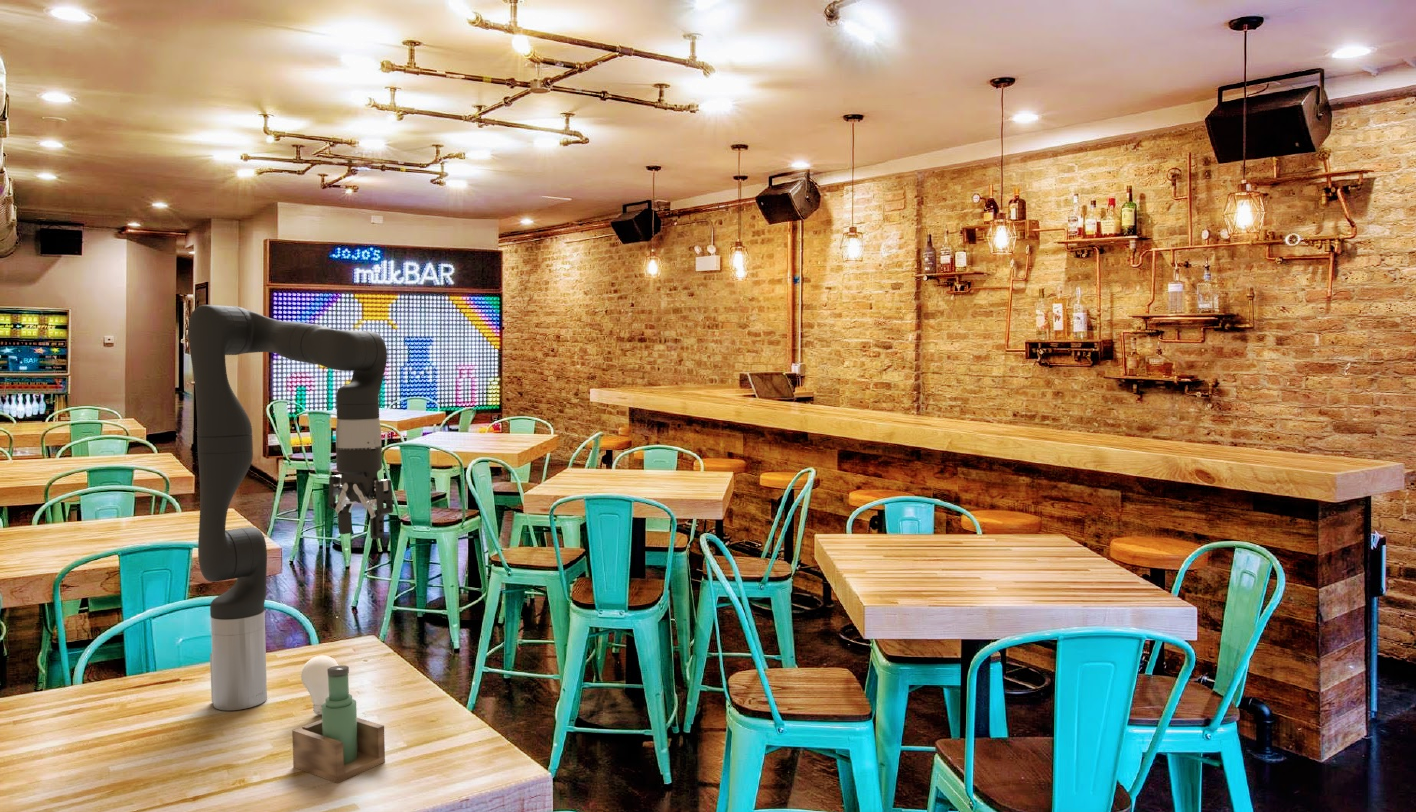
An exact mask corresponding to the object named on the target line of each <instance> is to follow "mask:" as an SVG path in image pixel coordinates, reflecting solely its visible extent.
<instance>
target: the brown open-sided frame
mask: <svg viewBox="0 0 1416 812" xmlns="http://www.w3.org/2000/svg"><path fill="white" fill-rule="evenodd" d="M291 735H292V760H293V763H292V766H293V768H296V769H297V770H301V771H303V772H306V773H309V774H311V775H315V776H317V777H320V778H323V779H324V780H328V781H331V782H334V783H335V784H336V783H337V784H339V783H341V782H343V781H346V780H347V779H349V778H353V777H354V776H356V775H359V774H361V773H364V772H365V771H368V770H370V769H372V768H374V767H376V766H379V765H381V764H384V763H385V762H386V754H385V753H386V752H385V750H386V747H385V746H386V745H385V725H383V724H379V723H376V722H374V721H373V722H372V721H370V720H366V719H363V718H360V717H357V749H358V758H357V759H356V760H355V761H353V762H351V763H349V764H345V765H344V762H343V742H341V741H338V740H335V739H331V738H328V737H325V736H322V719H318V720H316V721H315V722H311V723H309V724H305V725H303V726H301V727H298V728H295V729H293V730H292V734H291Z"/></svg>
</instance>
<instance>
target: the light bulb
mask: <svg viewBox="0 0 1416 812" xmlns="http://www.w3.org/2000/svg"><path fill="white" fill-rule="evenodd" d="M339 665H340V664H338V662H337V660H335V658H333V657H332V656H329V655H316V656H313V657H312V658H310V659H308V661H307V662H305V664H304V665H303V668H302V670H301V674H300V677H301V682H302V685H303V686H304V688H305V689H306V690H307V692H308V694H309V696H310V698H311V699H310V700H311V703H312V704H313V705H312V709H313V710H312V712H313V713H314V714H315V715H316V716H320V717H322V705H323V704H324V703H325V702H326V698H327V697H329V686H328V674H327V669H328V668H330V667H333V666H339Z"/></svg>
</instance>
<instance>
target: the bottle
mask: <svg viewBox="0 0 1416 812" xmlns="http://www.w3.org/2000/svg"><path fill="white" fill-rule="evenodd" d="M338 665H339V666H333V667H330V668H328V669H327V674H328V686H329V697H327V698H326V702H325V703H324V704H323V705H322V716H321V720H322V736H325V737H328V738H331V739H335V740H338V741H341V742H343V762H344V765H345V764H349V763H351V762H353V761H355V760H356V759H357V758H358V749H357V718H358V717H357V716H358V715H357V701H356V700H355V699H353V695H352V694H350V693H349V692H350V690H349V688H350V687H349V685H350V683H349V672H350V667H349V666H348V665H340V664H338Z"/></svg>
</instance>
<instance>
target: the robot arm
mask: <svg viewBox="0 0 1416 812" xmlns="http://www.w3.org/2000/svg"><path fill="white" fill-rule="evenodd" d="M187 327H188V329H187V333H188V334H187V335H188V336H187V337H188V346H189V353H190V360H191V367H192V373H193V380H194V389H195V400H196V401H195V403H196V405H195V406H196V420H197V421H196V422H197V425H196V426H197V428H196V430H197V431H196V438H197V442H196V443H197V444H196V445H197V460H198V470H199V471H198V472H199V474H198V475H199V498H200V500H199V505H200V507H199V521H198V525H199V526H198V543H197V545H198V547H197V549H198V552H197V553H198V564H199V569H200V572H201V575H202V577H203V579H205V580H206V581H207V582H211V583H214V582H215V583H216V582H223V581H227V580H228V581H229V580H234V579H235V580H236V581H235V583H234V584H232V585H233V586H231V588H229V589H227V590H226V591H225V592H223V593H222V594H219V595H218V596H216V597H215V598H214V599H213V600H211V603H210V606H209V610H210V615H209V616H210V637H211V640H210V641H211V653H210V654H209V661H210V664H209V665H210V692H211V693H210V694H211V703H213V708H214V709H215V710H220V711H239V710H245V709H248V708H253V707H256V706H259V705H261V704H263V703H264V702H266V700H267V699H268V685H267V680H268V679H267V678H268V677H267V652H266V651H267V650H266V621H265V619H266V618H265V615H266V614H265V602H266V597H267V572H268V571H267V570H268V548H267V543H266V539H265V536H264V535H263V533H262V531H261V530H260V529H258V528H257V527H254V526H248V527H241V528H232V529H226V524H227V523H226V522H227V516H228V511H229V508H230V503H231V502H232V499H233V497H234V495H235V494H236V492H237V491H238V488H239V487H240V485H241V483H242V482H243V481H244V479H245V476H246V475H247V473H248V472H249V469H250V467H251V465H252V461H253V458H254V451H253V450H254V447H253V443H254V442H253V428H252V421H251V420H250V418H249V416H248V414H247V411H246V410H245V409H244V407H243V405H242V404H241V402H240V400H239V398H237V396H236V394H235V393H234V391H233V389H232V386H231V384H230V383H229V379H228V374H227V372H228V371H227V364H226V363H227V362H226V356H239V355H243V354H251V353H273V354H277V355H279V356H281V357H283V358H285V359H287V360H290V361H295V362H300V363H305V364H311V365H318V366H322V367H325V368H327V369H331V370H335V371H339V372H341V371H342V372H343V371H344V372H352V377H351V380H350V382H349V383H347V384H345V385H342V386H340V387H339V388H338V389H337V391H336V398H335V399H336V401H335V402H336V426H335V427H336V428H335V455H336V461H335V462H336V471H337V472H338V473H341V474H336V475H335V474H334V475H330V476H329V478H328V508H329V509H330V510H332V509H333V510H335V513H336V514H337V528H338V534H340V535H347V534H351V533H352V532H353V528H352V527H353V525H352V524H353V523H352V522H353V521H352V511H351V510H352V509H353V506H354V505H355V504H356V503H359V504H361V505H362V506H363V508H365V509H367V511H368V514H369V515H370V518H369V526H370V527H369V528H370V530H369V531H370V539H371V540H379V539H383V538H384V533H385V516H386V515H388V514H389V515H390V514H392V513H393V512H394V505H393V490H392V489H393V487H392V480H391V479H390V478H385V479H384V478H383V479H379V477H378V472H379V471H381V470H382V469H383V461H382V460H383V458H382V457H383V455H382V449H383V448H382V429H381V428H382V427H381V422H380V401H379V400H380V399H379V398H380V397H379V396H380V391H381V388H382V385H383V381H384V380H383V379H384V375H385V371H386V367H387V362H388V361H387V360H388V350H387V346H386V343H385V341H384V339H383V338H382V336H381V335H380V334H379V333H378V332H376V331H372V330H349V329H348V330H346V329H333V328H331V327H329V326H325V325H321V324H316V323H315V324H314V323H308V322H302V321H301V322H299V321H289V320H279V319H275V318H271V317H268V316H265V315H262V314H260V313H258V312H255V311H253V310H249V309H247V308H244V307H241V306H235V305H217V304H202V305H199V306H197V307H196V308H194V310H193V311H192V313H191V315H190V316H189V321H188V326H187ZM336 496H337V497H338V498H337V500H336ZM384 501H385V506H384ZM375 507H376V508H375Z"/></svg>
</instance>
